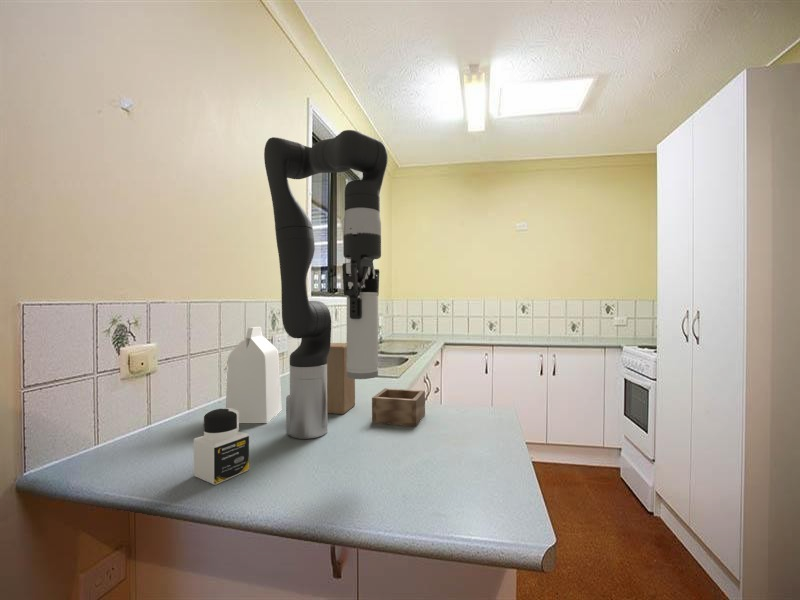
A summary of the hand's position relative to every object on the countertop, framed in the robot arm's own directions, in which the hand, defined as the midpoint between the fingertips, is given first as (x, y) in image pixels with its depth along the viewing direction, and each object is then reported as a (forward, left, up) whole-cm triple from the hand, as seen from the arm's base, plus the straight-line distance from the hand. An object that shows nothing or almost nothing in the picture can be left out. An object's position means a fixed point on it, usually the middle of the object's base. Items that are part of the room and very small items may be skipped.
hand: (362, 317), depth 72 cm
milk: (-42, +22, -30) cm, 56 cm away
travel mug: (0, 0, -12) cm, 12 cm away
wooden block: (-23, +35, -30) cm, 52 cm away
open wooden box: (-1, +31, -30) cm, 43 cm away
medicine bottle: (-25, -10, -30) cm, 40 cm away
